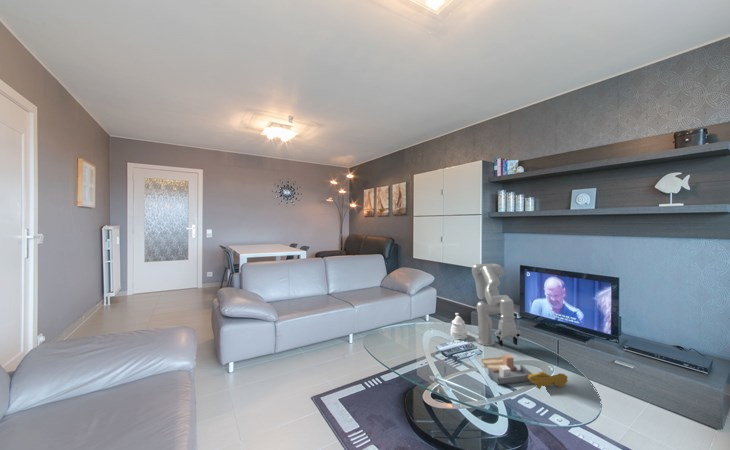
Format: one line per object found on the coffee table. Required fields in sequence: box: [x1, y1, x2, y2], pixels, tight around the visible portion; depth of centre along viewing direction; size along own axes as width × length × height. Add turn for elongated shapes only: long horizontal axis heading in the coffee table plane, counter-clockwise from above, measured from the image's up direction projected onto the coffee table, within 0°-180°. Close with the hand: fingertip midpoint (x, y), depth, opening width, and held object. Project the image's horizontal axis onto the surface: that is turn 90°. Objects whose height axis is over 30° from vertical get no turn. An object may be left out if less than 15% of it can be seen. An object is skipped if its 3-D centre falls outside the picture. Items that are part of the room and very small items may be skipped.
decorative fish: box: [528, 371, 569, 390], centre depth 166 cm, size 22×3×10 cm, turn 93°
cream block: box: [499, 365, 511, 377], centre depth 176 cm, size 4×4×6 cm
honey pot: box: [450, 312, 468, 340], centre depth 235 cm, size 13×13×18 cm
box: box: [487, 364, 533, 386], centre depth 176 cm, size 11×22×4 cm, turn 96°
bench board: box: [480, 356, 518, 373], centre depth 189 cm, size 14×16×2 cm
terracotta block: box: [502, 354, 515, 367], centre depth 186 cm, size 4×4×6 cm
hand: (508, 344), depth 185 cm, fingers open, 9 cm apart
